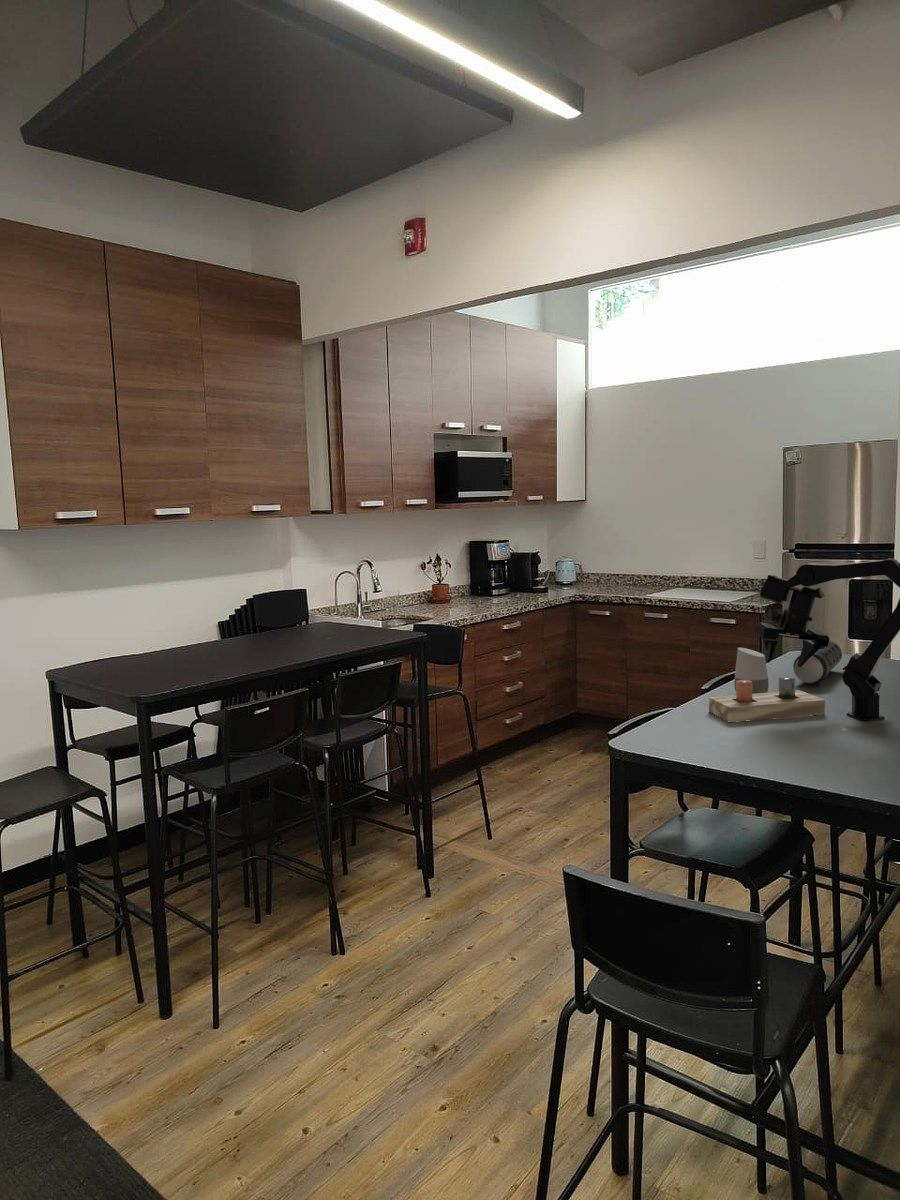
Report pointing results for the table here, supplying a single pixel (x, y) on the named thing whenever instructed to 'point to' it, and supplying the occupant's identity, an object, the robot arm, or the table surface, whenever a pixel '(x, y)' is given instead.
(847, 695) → the table surface
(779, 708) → the button panel
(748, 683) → the red button
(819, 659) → the muzzle brake
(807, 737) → the table surface
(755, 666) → the smart speaker
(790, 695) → the grey button
